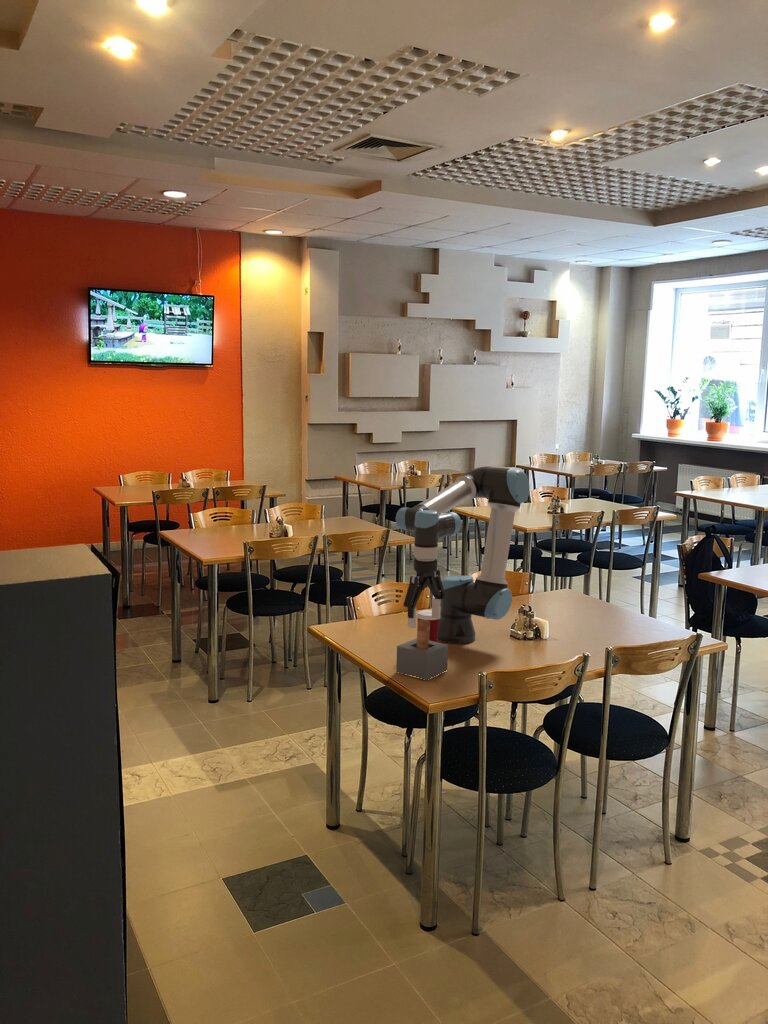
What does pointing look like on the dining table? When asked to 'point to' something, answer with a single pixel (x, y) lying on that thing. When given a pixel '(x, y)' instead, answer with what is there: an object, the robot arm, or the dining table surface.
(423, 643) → the pin
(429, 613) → the coffee cup
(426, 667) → the socket block
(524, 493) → the robot arm
